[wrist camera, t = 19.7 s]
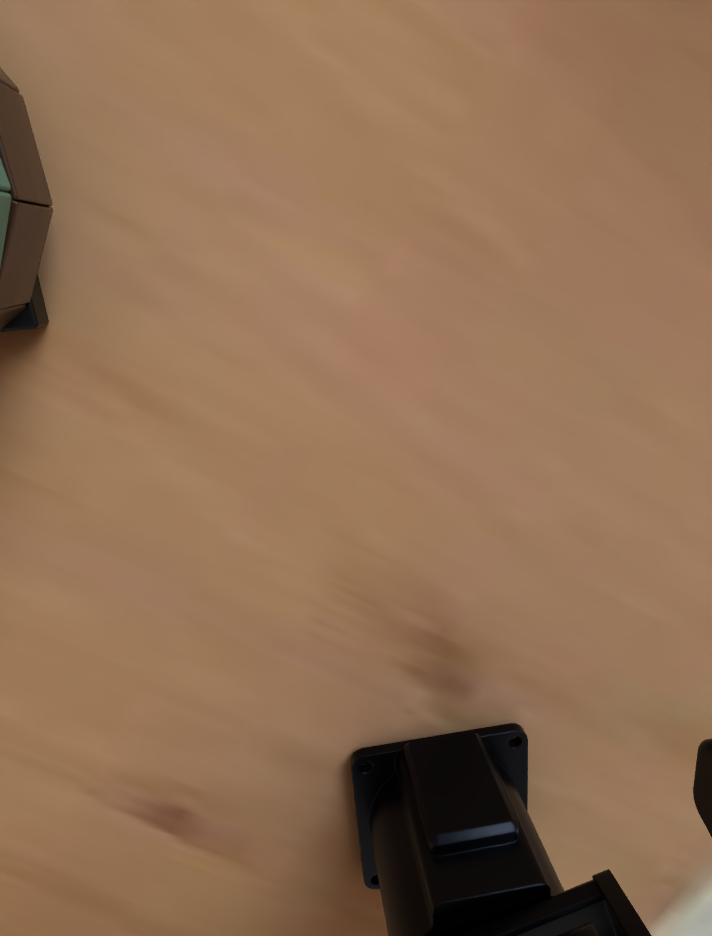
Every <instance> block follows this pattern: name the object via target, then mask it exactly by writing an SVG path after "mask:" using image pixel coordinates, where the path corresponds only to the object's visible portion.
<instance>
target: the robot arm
mask: <svg viewBox="0 0 712 936" xmlns="http://www.w3.org/2000/svg"><path fill="white" fill-rule="evenodd" d="M514 736H516V737H515V738H514V739H512V740H509V739H510V738H512V737H514ZM363 762H369V763H368V764H365V765H361V763H363ZM351 770H352V779H353V788H354V797H355V806H356V815H357V824H358V833H359V842H360V851H361V860H362V869H363V877H364V882H365V885H366V886H367V887H368V888H371V889H380V890H381V896H382V902H383V907H384V913H385V918H386V924H387V930H388V935H389V936H651V934H650V933H649V931H648V930H647V928H646V927H645V925H644V923H643V922H642V920H641V919H640V917H639V915H638V914H637V912H636V911H635V909H634V908H633V906H632V904H631V903H630V901H629V900H628V898H627V897H626V895H625V893H624V892H623V890H622V889H621V887H620V885H619V884H618V882H617V881H616V879H615V878H614V876H613V874H612V873H611V871H610V870H609V869H608V870H606V871H603V872H601V873H598V874H596V875H593V876H592V877H593V880H591V881H588V882H586V883H583V884H581V885H578V886H576V887H574V888H571V889H569V890H566V891H564V890H563V887H562V885H561V883H560V881H559V879H558V877H557V875H556V872H555V870H554V868H553V866H552V864H551V862H550V859H549V857H548V855H547V853H546V851H545V849H544V847H543V844H542V842H541V840H540V838H539V836H538V834H537V831H536V829H535V827H534V825H533V823H532V821H531V818H530V816H529V814H528V812H527V787H528V739H527V735H526V734H525V732H524V730H523V728H522V727H521V726H520V725H518V724H516V723H511V724H505V725H499V726H493V727H487V728H481V729H475V730H469V731H463V732H457V733H451V734H445V735H439V736H433V737H427V738H421V739H415V740H409V741H403V742H397V743H391V744H385V745H379V746H373V747H367V748H362V749H359V750H357V751H356V752H354V753H353V755H352V756H351ZM693 794H694V801H695V804H696V807H697V810H698V812H699V814H700V816H701V818H702V820H703V822H704V824H705V825H706V827H707V829H708V831H709V833H710V835H711V836H712V739H707V740H704V741H702V743H701V744H700V745H699V748H698V753H697V762H696V770H695V779H694V787H693Z"/></svg>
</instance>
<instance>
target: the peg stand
mask: <svg viewBox="0 0 712 936" xmlns="http://www.w3.org/2000/svg"><path fill="white" fill-rule="evenodd" d="M48 322H49V320H48V316H47V312H46V308H45V303H44V299H43V295H42V291H41V287H40V283H39V278H38V274H37V276H36V280H35V284H34V288H33V292H32V295H31V299H30V302H29V303H26V307H25V309H23V310H22V311H21V312H20V313H19V314H18V315H17V316H15V317H14V318H13V319H12V320H11V321H10V322H9V323H8V324H6V325H5V326H4V327H3V328H2V329H1V330H0V332H5V331H15V330H26V329H36V328H39V327H42V326H44V325H47V324H48Z"/></svg>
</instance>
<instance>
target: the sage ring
mask: <svg viewBox="0 0 712 936" xmlns="http://www.w3.org/2000/svg"><path fill="white" fill-rule="evenodd" d="M10 190H11V186H10V183H9V180H8V178H7V175H6V172H5V169H4V167H3V164H2V161H1V158H0V267H1V260H2V254H3V248H4V242H5V236H6V229H7V223H8V217H9V211H10V205H11V195H10V194H9V193H7V192H8V191H10Z"/></svg>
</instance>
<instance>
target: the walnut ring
mask: <svg viewBox="0 0 712 936" xmlns="http://www.w3.org/2000/svg"><path fill="white" fill-rule="evenodd" d="M0 158H1V161H2V164H3V167H4V169H5V172H6V175H7V178H8V180H9V183H10V186H11V190H10V191H8V192H7V193H9V194H10V195H11V205H10V211H9V217H8V223H7V229H6V236H5V242H4V248H3V254H2V260H1V267H0V330H1V329H2V328H3V327H4V326H5V325H6V324H8V323H9V322H10V321H11V320H12V319H13V318H14V317H15V316H17V315H18V314H19V313H20V312H21V311H22V310H23V309H25V307H26V303H29V302H30V299H31V295H32V292H33V288H34V284H35V280H36V276H37V272H38V268H39V264H40V260H41V256H42V252H43V248H44V244H45V240H46V236H47V232H48V228H49V224H50V220H51V216H52V213H53V209H52V208H50V207H49V206H52V200H51V196H50V193H49V189H48V185H47V182H46V178H45V175H44V171H43V167H42V164H41V160H40V157H39V153H38V149H37V146H36V142H35V139H34V135H33V131H32V128H31V124H30V121H29V117H28V113H27V110H26V106H25V103H24V99H23V97H22V95H20V94H19V89H18V88H17V86H16V85H15V84H14V83H13V82H12V81H11V79H10V78H9V77H8V76H7V75H6V74H5V72H4V71H3V70H2V69H1V68H0Z"/></svg>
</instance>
